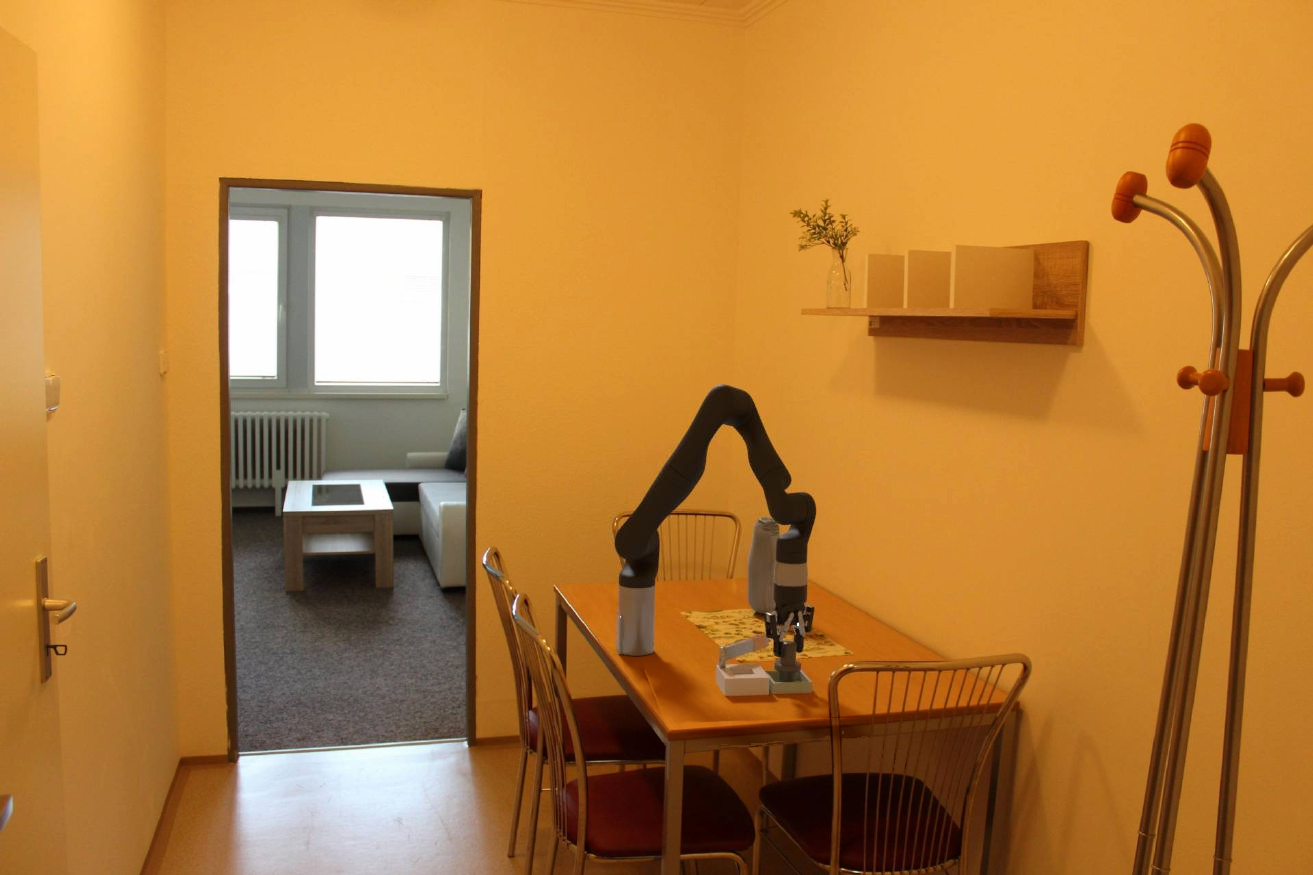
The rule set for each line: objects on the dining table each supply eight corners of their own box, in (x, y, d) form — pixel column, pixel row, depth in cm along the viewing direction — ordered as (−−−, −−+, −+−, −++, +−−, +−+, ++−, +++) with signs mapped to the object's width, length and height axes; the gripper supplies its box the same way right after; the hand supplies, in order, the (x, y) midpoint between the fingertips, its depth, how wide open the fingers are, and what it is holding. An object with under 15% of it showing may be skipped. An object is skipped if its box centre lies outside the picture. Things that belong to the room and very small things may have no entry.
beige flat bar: (723, 668, 241) (723, 648, 241) (717, 667, 242) (718, 647, 242) (769, 652, 254) (769, 633, 254) (763, 651, 256) (764, 632, 255)
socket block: (724, 696, 235) (725, 678, 235) (715, 681, 245) (716, 664, 244) (768, 695, 236) (769, 677, 236) (758, 680, 246) (758, 663, 246)
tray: (772, 694, 237) (773, 683, 237) (763, 681, 246) (763, 670, 246) (812, 693, 238) (812, 682, 238) (801, 680, 247) (801, 669, 247)
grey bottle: (787, 615, 309) (790, 520, 306) (756, 618, 305) (759, 521, 302) (771, 607, 318) (774, 514, 315) (740, 610, 314) (743, 516, 311)
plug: (777, 690, 239) (778, 647, 238) (771, 681, 244) (772, 639, 243) (803, 689, 239) (805, 646, 238) (796, 680, 245) (797, 638, 244)
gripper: (801, 574, 247) (798, 645, 249) (755, 581, 238) (753, 655, 240) (825, 580, 241) (822, 653, 243) (779, 588, 232) (777, 664, 234)
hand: (788, 654), depth 241 cm, fingers open, 5 cm apart
